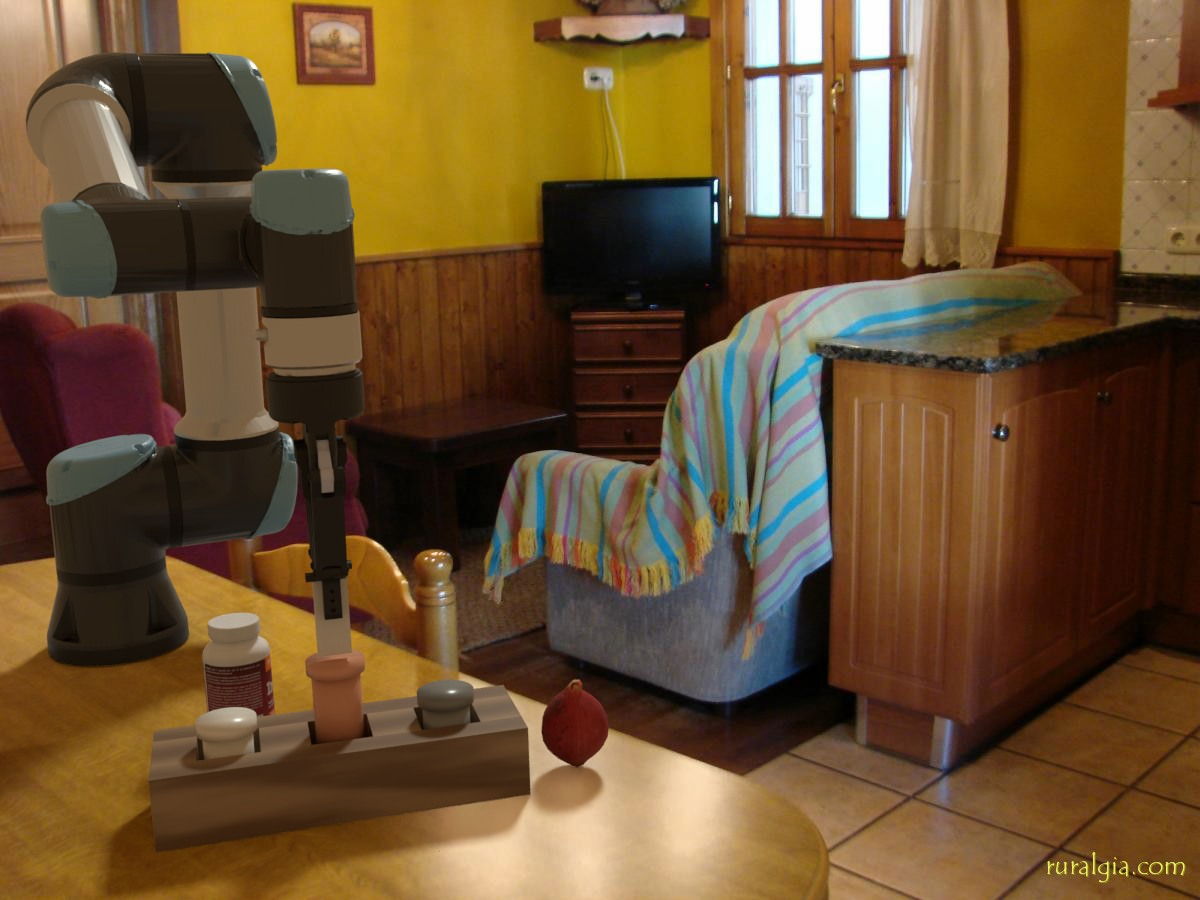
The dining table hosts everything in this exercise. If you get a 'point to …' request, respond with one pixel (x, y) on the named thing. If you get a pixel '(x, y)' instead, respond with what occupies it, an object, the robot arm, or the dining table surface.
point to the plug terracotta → (337, 696)
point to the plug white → (227, 732)
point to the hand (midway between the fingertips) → (334, 651)
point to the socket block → (335, 772)
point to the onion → (574, 725)
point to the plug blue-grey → (445, 703)
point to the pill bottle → (238, 665)
